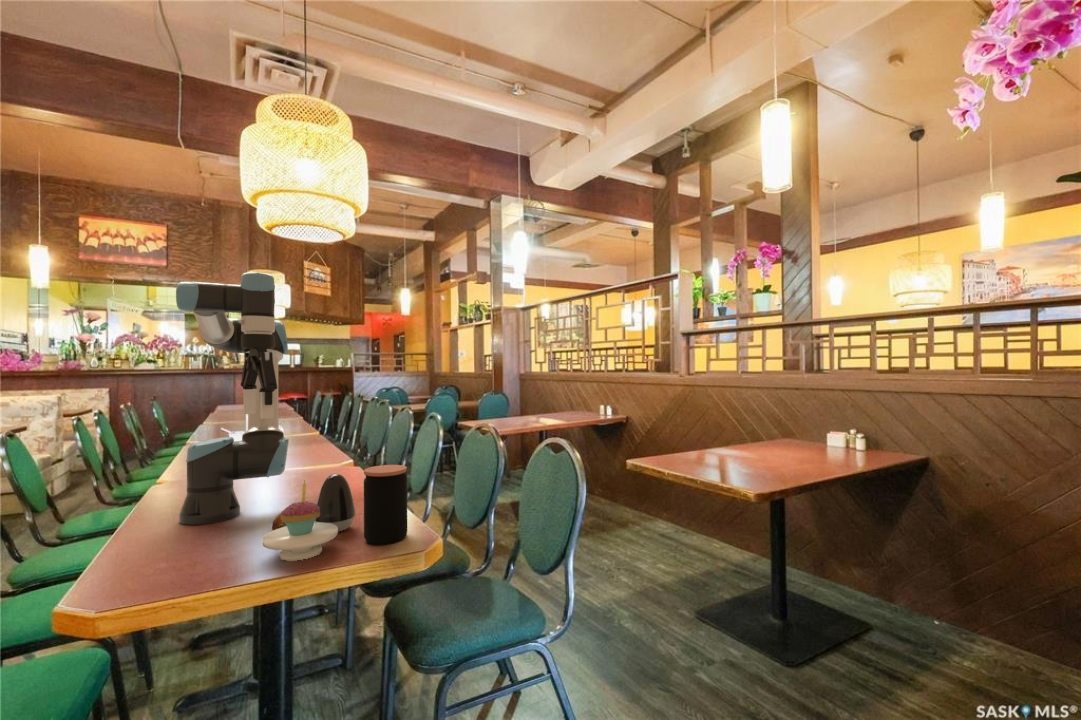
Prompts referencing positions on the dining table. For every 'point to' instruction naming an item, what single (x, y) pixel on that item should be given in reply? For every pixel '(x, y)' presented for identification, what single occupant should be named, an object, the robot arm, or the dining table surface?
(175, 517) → the dining table surface
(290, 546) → the cake stand
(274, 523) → the bread roll
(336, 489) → the black egg shaped dome
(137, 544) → the dining table surface
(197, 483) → the robot arm
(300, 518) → the cupcake
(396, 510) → the coffee jar
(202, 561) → the dining table surface
